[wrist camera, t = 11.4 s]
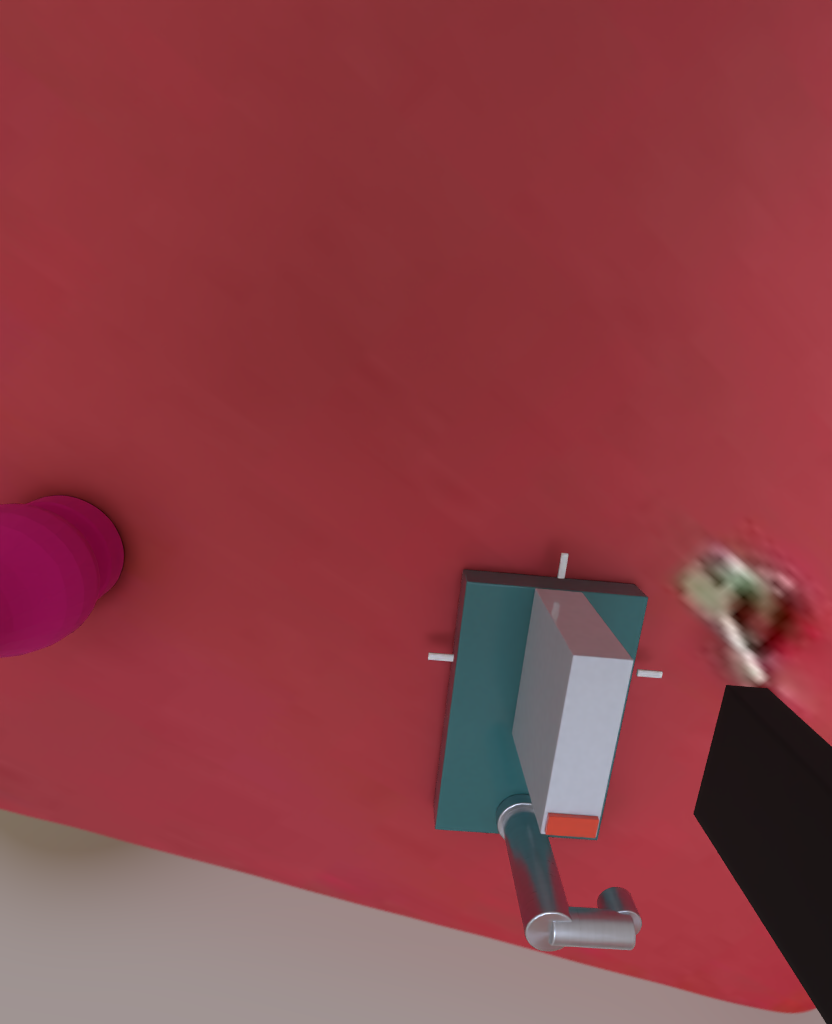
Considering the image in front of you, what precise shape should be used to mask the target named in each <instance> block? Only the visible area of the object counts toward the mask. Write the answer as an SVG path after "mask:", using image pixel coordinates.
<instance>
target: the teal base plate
mask: <svg viewBox="0 0 832 1024" xmlns="http://www.w3.org/2000/svg"><path fill="white" fill-rule="evenodd" d="M568 555H569V554H568V553H561V558H560V564H559V570H558V575H557V578H556V577H545V576H533V575H522V574H510V573H499V572H487V571H475V570H463V574H462V582H461V590H460V598H459V606H458V614H457V622H456V630H455V638H454V646H453V654H441V653H428V660H441V661H452V662H451V670H450V678H449V686H448V694H447V702H446V710H445V718H444V726H443V734H442V742H441V750H440V758H439V766H438V774H437V782H436V790H435V798H434V821H435V829H438V830H453V831H468V832H482V833H497V834H500V833H499V831H498V828H497V823H496V811H497V809H498V807H499V805H500V804H501V803H502V802H503V801H504V800H505V799H507V798H508V797H510V796H513V795H517V794H526V795H529V791H528V788H527V784H526V781H525V777H524V774H523V771H522V767H521V764H520V760H519V757H518V753H517V750H516V746H515V743H514V739H513V736H512V729H513V723H514V717H515V711H516V704H517V698H518V692H519V686H520V680H521V674H522V667H523V661H524V655H525V649H526V643H527V636H528V630H529V624H530V618H531V612H532V605H533V599H534V593H535V589H536V588H538V589H549V590H560V591H571V592H582V593H583V594H584V595H585V597H586V598H587V599H588V601H589V602H590V603H591V605H592V606H593V607H594V609H595V610H596V611H597V613H598V614H599V615H600V617H601V618H602V619H603V621H604V622H605V623H606V625H607V626H608V627H609V628H610V630H611V631H612V632H613V634H614V635H615V636H616V638H617V639H618V640H619V642H620V643H621V644H622V646H623V647H624V648H625V650H626V651H627V652H628V654H629V655H630V656H631V658H632V659H633V666H632V671H631V676H630V680H629V685H628V690H627V694H626V699H625V704H624V708H623V713H622V718H621V723H620V727H619V732H618V737H617V741H616V746H615V751H614V756H613V760H612V765H611V770H610V774H609V779H608V784H607V789H606V793H605V798H604V803H603V807H602V812H601V817H600V822H599V826H598V831H597V836H596V838H586V837H572V836H558V835H548V837H557V838H572V839H587V840H597V839H598V835H599V830H600V825H601V820H602V816H603V811H604V806H605V801H606V797H607V792H608V787H609V782H610V777H611V773H612V768H613V763H614V758H615V754H616V749H617V744H618V739H619V735H620V730H621V725H622V720H623V715H624V711H625V706H626V701H627V696H628V692H629V687H630V682H631V677H632V673H633V668H634V663H635V658H636V653H637V649H638V644H639V639H640V634H641V630H642V625H643V620H644V615H645V611H646V606H647V601H648V597H647V596H646V595H645V594H644V593H643V592H642V591H641V590H640V589H639V588H638V587H637V586H636V585H635V584H626V583H614V582H602V581H591V580H579V579H568V578H565V572H566V566H567V560H568ZM662 674H663V672H662V671H653V670H641V669H637V674H636V675H637V676H642V677H654V678H662Z"/></svg>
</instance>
